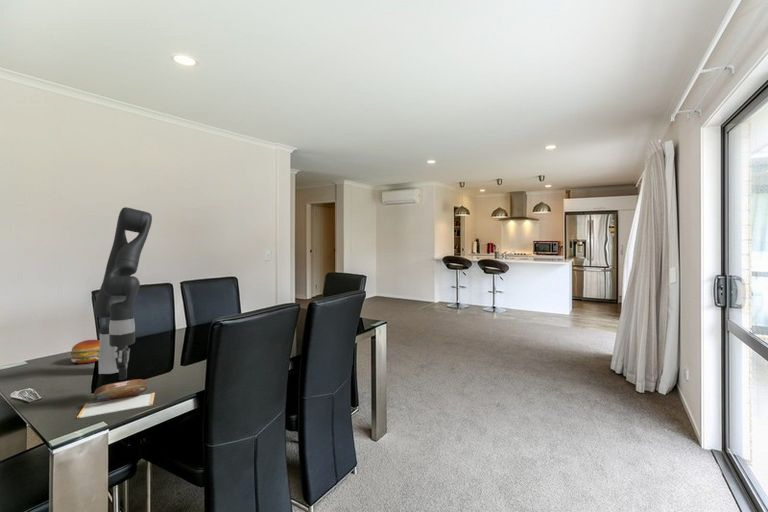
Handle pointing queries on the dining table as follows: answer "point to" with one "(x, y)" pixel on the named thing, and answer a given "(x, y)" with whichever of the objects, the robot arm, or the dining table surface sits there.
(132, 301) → the robot arm
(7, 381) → the dining table surface
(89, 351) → the burger
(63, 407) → the dining table surface
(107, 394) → the tin
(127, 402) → the mat
